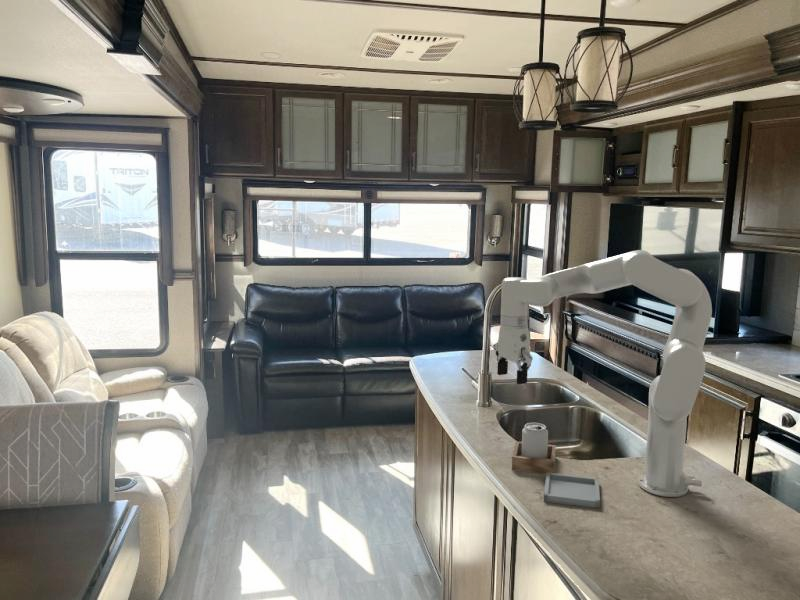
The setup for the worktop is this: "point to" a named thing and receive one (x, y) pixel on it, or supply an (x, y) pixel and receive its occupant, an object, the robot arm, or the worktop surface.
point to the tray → (572, 490)
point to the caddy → (533, 461)
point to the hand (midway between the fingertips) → (511, 378)
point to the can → (534, 441)
